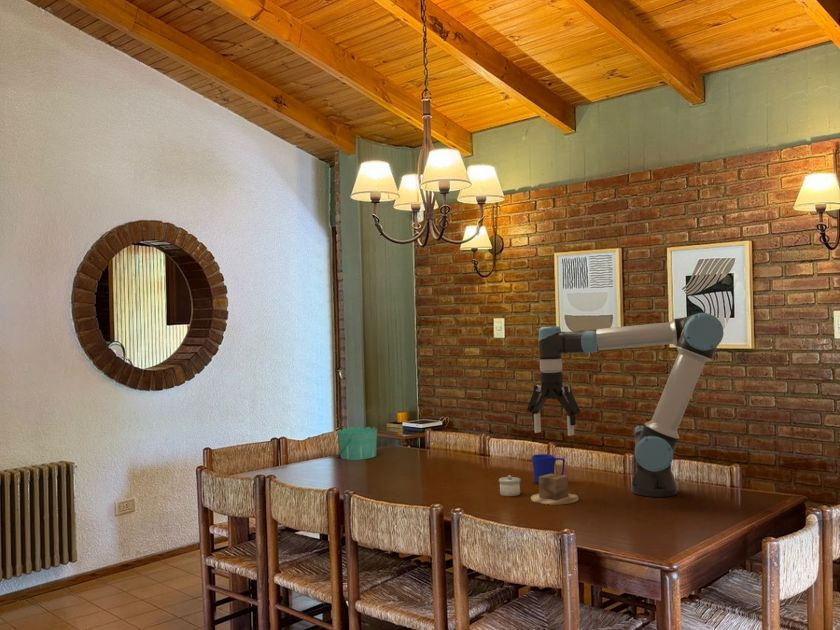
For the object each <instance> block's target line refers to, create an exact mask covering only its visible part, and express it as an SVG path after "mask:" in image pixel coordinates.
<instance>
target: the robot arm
mask: <svg viewBox="0 0 840 630" xmlns="http://www.w3.org/2000/svg"><path fill="white" fill-rule="evenodd" d="M723 338H724V327H723V324H722V322H721V321H720V320H719V318H718V317H716V316H715V315H712V313H708V312H697V313H694V314H692V315H688V316H684V317H678V318H673V319H672V320H671V321H668V322H657V323H648V324H637V325H635V324H634V325H628V326H627V325H626V326H615V327H606V328H605V327H604V328H596V329H582V330H577V331H576V330H575V331H573V330H572V331H562V329H561V327H560V326H559V325H558V326H541V327H540V328H539V329H538V350H539V351H538V352H539V371H540V383H541V385H540V384H536V385H533V390H532V391H533V392H532V394H531V398H530V399H529V402H528V406H527V408H526V411H527V412H530V413H531V416H532V423H534V424H533V426H534V427H533V429H534V433H535V434H537V433H541V432H542V425H541V424H542V421H541V420H542V419H541V413H540V410H541V409H542V407H543V406H544V404H545V403H546V401H547V400H549V399H552V400H557V401H558V402H559V403H560V404H561V405H560V406H562V407H563V409H564V410H565V411H566V413H567V414H568V415H566V423H567V424H566V425H567V426H566V427H567V436H569V437H571V436H575V426H576V425H577V424H576V415H580V414H581V409H580V407H579V405H578V403H577V401H576V399H575V396H574V394H573V392H572V387H571V385H566V386H564V385H563V383H564V382H563V381H564V378H563V377H564V376H563V372H562V371H563V360H562V355H564V354H592V353H596V352H597V351H605V350H619V349H628V348H640V347H641V348H642V347H653V346H664V345H673V346H675V347H676V348H675V349H677V352H678V354H677V357H676V359H675V361H674V364H673V366H672V369H671V371H670V373H669V375H668V378H667V381H666V383H665V386H664V388H663V390H662V393H661V394H660V395H661V396H660V398H659V400H658V403H657V406H656V407H655V410H654V413H653V415H652V418H651V419H650V420H649V421H647V422H644V425H637V426H636V427H634V433H633V435H634V445H635V446H634V450H633V452H634V459H635V473H634V476H633V479H632V482H631V492H632V493H633V494H635V495H638V496H643V497H653V498H655V497H656V498H659V497H660V498H664V497H671V496H676V495H677V494H678V485H677V482H676V480H675V477H674V475H673V471H672V462H673V460H674V452H675V450H676V448H677V445H678V442H679V440H680V435H679V433H678V429H679V427H680V425H681V422H682V420H683V418H684V415H685V412H686V410H687V407H688V405H689V402H690V400H691V397H692V395H693V393H694V390H695V387H696V385H697V382H698V381H699V378H700V376H701V373H702V371H703V369H704V366H705V364H706V363H707V362H710V361H712V360H713V357H714V355H715V352H716V350H717V349H718V346H719V345H720V344H721V342H722V341H723ZM541 392H542V394H541ZM540 394H541V395H540Z"/></svg>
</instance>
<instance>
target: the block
mask: <svg viewBox="0 0 840 630" xmlns="http://www.w3.org/2000/svg"><path fill="white" fill-rule="evenodd" d="M538 493H539V497H540V498H545V499H551V500H559V499H563V498H566V497H569V476H568V475H564V474H563V475H561V474H557V473H554V474H547V475H544V476H540V477H539V483H538Z"/></svg>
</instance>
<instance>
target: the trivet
mask: <svg viewBox="0 0 840 630" xmlns="http://www.w3.org/2000/svg"><path fill="white" fill-rule="evenodd" d="M568 493H569V492H568ZM579 500H580V499H579V496H578V495H577V494H575V493H574V494H573V493H569V497H566V498H563V499H559V500H551V499H545V498H540V497H539V492H538V493H535V494H532V495H531V496H530V501H531V502H533V503H535V504H541V505H548V504H549V505H551V506H556V505H557V506H560V505H571V504H574V503H577V502H578V501H579Z"/></svg>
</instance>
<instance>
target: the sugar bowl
mask: <svg viewBox="0 0 840 630" xmlns="http://www.w3.org/2000/svg"><path fill="white" fill-rule="evenodd" d="M498 482H499V495H501V496H503V497H516V496H519V495H520V494H521V484H520V483H521V478H519V477H514V476H512V475H510V474H508V476H503V477H500V478H498Z"/></svg>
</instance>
